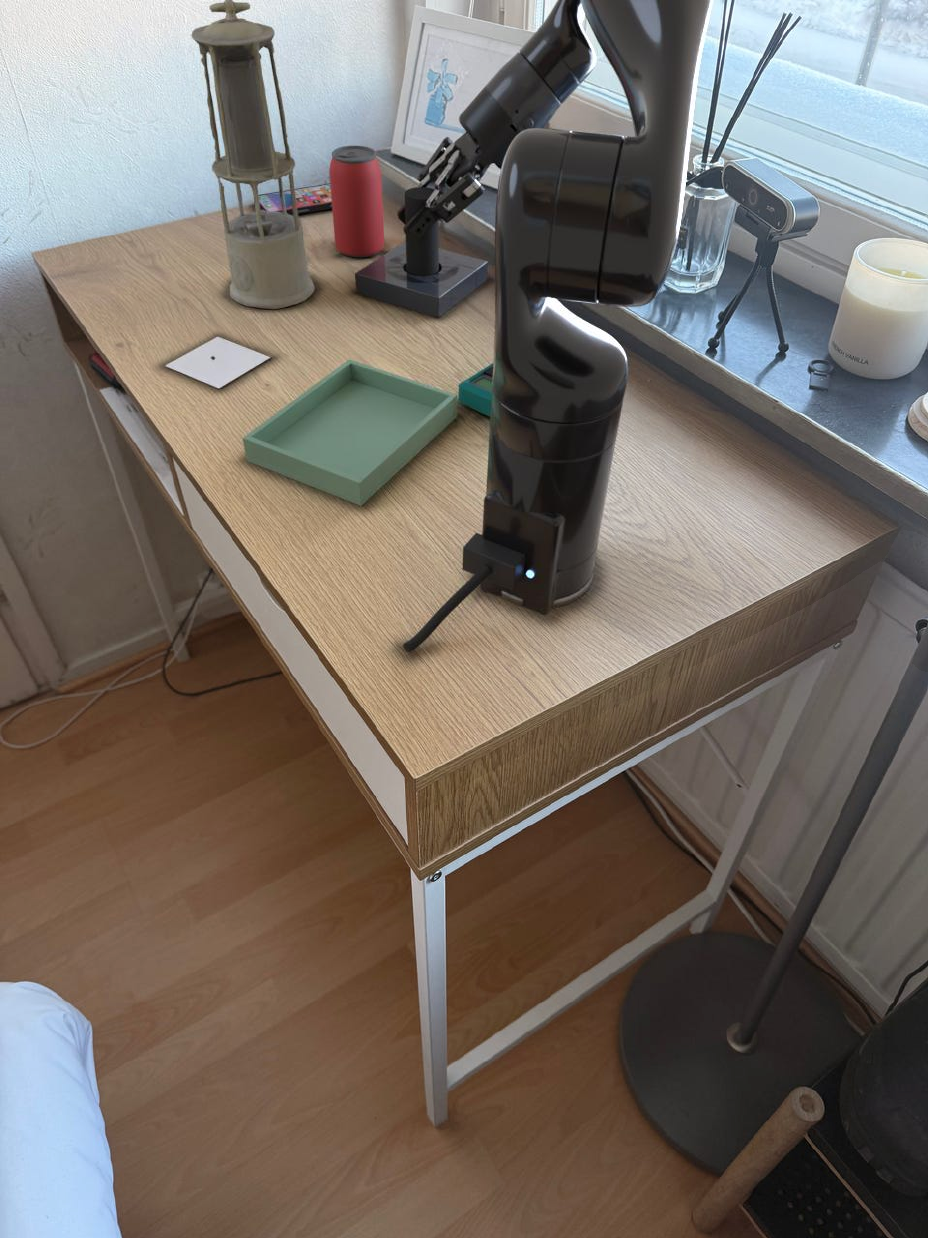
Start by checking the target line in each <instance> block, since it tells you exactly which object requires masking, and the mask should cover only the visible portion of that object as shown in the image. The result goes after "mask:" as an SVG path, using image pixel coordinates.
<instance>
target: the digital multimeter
mask: <svg viewBox="0 0 928 1238" xmlns="http://www.w3.org/2000/svg"><path fill="white" fill-rule="evenodd" d="M492 379H493V362H492V363H491V364H489V365H488V366H486V367H484V368H483V369H481V370H480V371H478V372H477V373H475V374H473V375H471V376H470V377H468V378H467V379H465V380H463V381H461V382H460V383H459V384H458V395H457V401H458V402H460V403H461V404H462V405H464V406H466V407H468V408H470V409H472V410H473V411H476V412H478V413H480V414H483V415H485V416H487V417H489V418H490V417H491V399H492Z"/></svg>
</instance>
